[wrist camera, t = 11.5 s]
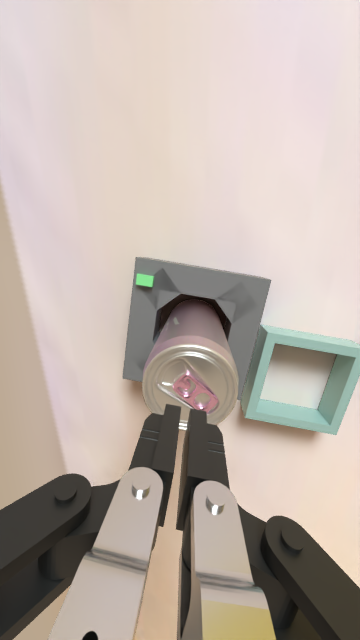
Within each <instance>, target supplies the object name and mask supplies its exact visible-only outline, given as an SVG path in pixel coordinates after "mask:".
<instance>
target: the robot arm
mask: <svg viewBox="0 0 360 640" xmlns="http://www.w3.org/2000/svg"><path fill="white" fill-rule="evenodd" d="M180 415H181V406H176V405H170V404H166V406H165V410H164V415H160V414H155V413H152V414H151V415H150V416H149V417H148V418H147V419H146V420H145V422H144V425H143V428H142V431H141V434H140V438H139V440H138V443H137V446H136V449H135V452H134V455H133V459H132V462H131V465H130V467H129V470H128V471H127V472H126V473H125V474H124V475H123V476H122V478H121V479H120V480H118V481H116V482H114V483H111V484H108V485H101V486H93V487H91V485H90V483H89V481H88V480H87V479H86V478H85V477H84V476H82V475H79V474H66V475H62V476H59V477H57V478H55V479H54V480H52V481H50V482H48V483H47V484H45V485H43V486H41V487H40V488H38V489H36V490H34V491H33V492H31V493H29V494H27V495H26V496H24V497H22V498H20V499H19V500H17V501H15V502H14V503H12V504H10V505H8V506H6V507H5V508H3V509H1V510H0V640H12V639H14V638H15V637H16V636H17V635H18V634H19V633H20V632H21V631H22V630H23V629H24V628H25V627H26V626H27V625H28V624H30V622H32V621H33V620H34V619H35V618H36V617H37V616H38V615H39V614H40V613H41V612H42V611H43V610H44V609H45V608H46V607H48V606H49V605H50V604H51V603H52V602H53V601H54V600H55V599H56V598H57V597H58V596H59V595H60V594H61V593H62V592H64V591H65V590H66V588H68V587H69V586H70V585H71V586H70V589H69V591H68V593H67V596H66V598H65V600H64V603H63V605H62V607H61V610H60V612H59V614H58V617H57V619H56V621H55V624H54V626H53V628H52V631H51V633H50V635H49V638H48V640H134V638H135V633H136V628H137V623H138V618H139V613H140V608H141V603H142V598H143V593H144V588H145V583H146V578H147V573H148V568H149V563H150V558H151V553H152V550H153V548H154V546H155V542H156V537H157V531H158V526H161V527H163V525H164V520H165V515H166V510H167V505H168V499H169V494H170V489H171V484H172V479H173V474H174V465H175V457H176V449H177V440H178V432H179V423H180ZM223 444H224V443H223V436H222V433H221V431H220V430H219V428H218V427H217V425H213V424H208V423H207V412H206V411H202V410H197V409H192V408H191V409H190V412H189V417H188V422H187V428H186V433H185V438H184V444H183V453H182V464H181V476H180V488H179V500H178V512H177V524H176V530H181V531H183V539H182V548H181V552H180V558H179V587H178V621H177V640H360V588H359V587H358V586H357V585H356V584H355V583H354V582H353V581H352V580H351V579H350V577H349V576H348V575H347V574H346V573H345V572H344V571H343V570H342V569H341V568H340V567H339V566H338V565H337V564H336V563H335V561H334V560H333V559H332V558H331V557H330V556H329V555H328V554H327V553H326V552H325V551H324V550H323V549H322V548H321V547H320V545H319V544H318V543H317V542H316V541H315V540H314V539H313V538H312V537H311V536H310V535H309V534H308V533H307V532H306V531H305V530H304V529H303V528H302V527H301V526H300V525H299V524H298V523H296V522H295V521H293V520H291V519H289V518H287V517H284V516H274V517H271V518H270V519H269V520H268V521H267V523H266V522H264V521H262V520H260V519H259V518H257V517H255V516H253V515H251V514H249V513H248V512H246V511H245V510H244V509H242V508H241V507H240V506H239V505H238V503H237V501H236V499H235V496H234V495H233V493H232V492H231V491H230V488H229V481H228V473H227V466H226V458H225V451H224V446H223Z"/></svg>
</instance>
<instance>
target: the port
mask: <svg viewBox="0 0 360 640" xmlns="http://www.w3.org/2000/svg"><path fill="white" fill-rule="evenodd" d="M270 283H271V280H270V279H266V278H263V277H258V276H252V275H247V274H241V273H235V272H229V271H223V270H217V269H211V268H205V267H199V266H193V265H187V264H181V263H175V262H169V261H163V260H157V259H152V258H146V257H136V261H135V270H134V279H133V288H132V297H131V306H130V315H129V324H128V333H127V342H126V351H125V360H124V369H123V378H124V379H129V380H134V381H140V382H142V380H143V370H144V366H145V363H146V361H147V359H148V357H149V355H150V353H151V351H152V349H153V347H154V345H155V343H156V341H157V339H158V337H159V335H160V332H159V325H160V318H161V311H162V307H163V306H164V305H165V304H167V303H168V302H170V301H171V300H172V299H174V298H175V297H177V296H178V295H179V294H187V295H193V296H199V297H205V298H210V299H215V300H216V302H217V303H218V305H219V306H220V307H221V309H222V310H223V312H224V313H225V315H226V316H227V318H226V323H225V327H224V333H225V336H226V339H227V342H228V345H229V348H230V350H231V353H232V356H233V359H234V362H235V365H236V368H237V371H238V380H239V381H238V396H237V400H241V396H242V392H243V388H244V384H245V380H246V376H247V372H248V369H249V365H250V361H251V357H252V353H253V349H254V345H255V341H256V337H257V334H258V330H259V326H260V322H261V318H262V314H263V310H264V306H265V302H266V299H267V295H268V291H269V287H270Z"/></svg>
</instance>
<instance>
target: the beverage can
mask: <svg viewBox="0 0 360 640" xmlns="http://www.w3.org/2000/svg"><path fill="white" fill-rule="evenodd" d="M238 381H239V380H238V371H237V368H236V365H235V362H234V359H233V356H232V353H231V350H230V348H229V345H228V342H227V339H226V336H225V333H224V330H223V328H222V325H221V322H220V319H219V316H218V314H217V312H216V310H215V309H214V308H213V307H212V306H211V305H210V304H208V303H206V302H204V301H202V300H197V299H191V300H186V301H183V302H181V303H180V304H178V305H177V306H176V307H175V308H174V309H173V310H172V312H171V314H170V316H169V317H168V319H167V321H166V323H165V325H164V327H163V329H162V331H161V333H160V335H159V337H158V339H157V341H156V343H155V345H154V347H153V349H152V351H151V353H150V355H149V357H148V359H147V361H146V363H145V366H144V370H143V380H142V392H143V397H144V400H145V403H146V405H147V407H148V408H149V410H150V411H151V413H155V414H160V415H164V410H165V406H166V404H170V405H176V406H181V415H180V423H179V430H182V431H186V428H187V422H188V417H189V412H190V409H191V408H192V409H197V410H202V411H206V412H207V423H208V424H213V425H217V424H219V423H220V422H222V421H223V420H224V419H225V418H226V417H227V416H228V415H229V414H230V412H231V411H232V409H233V408H234V405H235V403H236V400H237V396H238Z"/></svg>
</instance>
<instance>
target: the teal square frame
mask: <svg viewBox="0 0 360 640" xmlns="http://www.w3.org/2000/svg"><path fill="white" fill-rule="evenodd" d="M275 343H278V344H283V345H289V346H295V347H300V348H306V349H312V350H317V351H323V352H328V353H334V354H337V356H336V359H335V362H334V365H333V368H332V370H331V373H330V376H329V379H328V382H327V384H326V387H325V390H324V393H323V396H322V399H321V401H320V404H319V407H318V410H316V409H311V408H305V407H300V406H295V405H289V404H284V403H278V402H273V401H268V400H262V399H259V398H260V395H261V391H262V388H263V384H264V381H265V377H266V373H267V370H268V366H269V363H270V359H271V356H272V352H273V348H274V345H275ZM359 376H360V345H359V344H357V343H355V342H353V341H351V340H345V339H340V338H334V337H328V336H323V335H317V334H311V333H305V332H300V331H294V330H288V329H283V328H277V327H271V326H265V325H260V329H259V333H258V337H257V341H256V345H255V349H254V353H253V356H252V360H251V364H250V368H249V372H248V376H247V380H246V384H245V387H244V391H243V395H242V399H241V406H242V409H243V413H244V416H245V418H248V419H254V420H259V421H264V422H270V423H275V424H280V425H286V426H291V427H296V428H302V429H307V430H312V431H318V432H323V433H328V434H333V435H337V432H338V429H339V427H340V424H341V422H342V419H343V417H344V414H345V412H346V409H347V406H348V404H349V401H350V399H351V396H352V394H353V391H354V388H355V386H356V383H357V381H358V378H359Z"/></svg>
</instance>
